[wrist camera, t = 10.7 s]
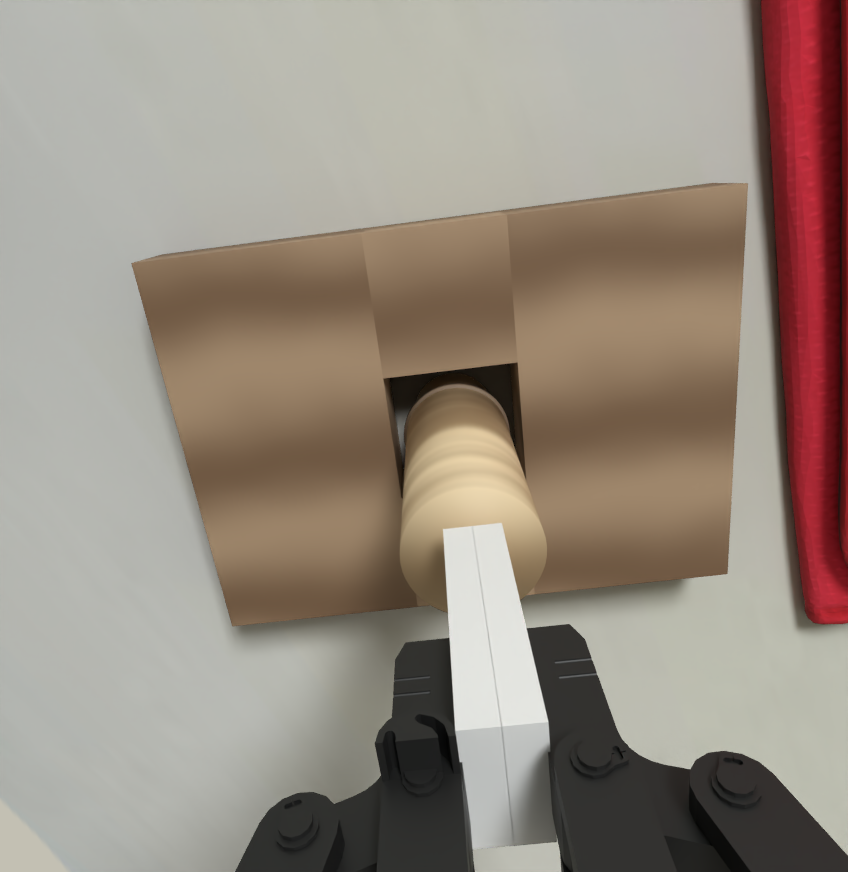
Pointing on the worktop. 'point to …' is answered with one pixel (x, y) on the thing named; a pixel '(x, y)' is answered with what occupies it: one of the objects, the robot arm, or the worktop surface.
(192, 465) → the walnut board
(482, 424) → the oak peg
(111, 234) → the worktop surface
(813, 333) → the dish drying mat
